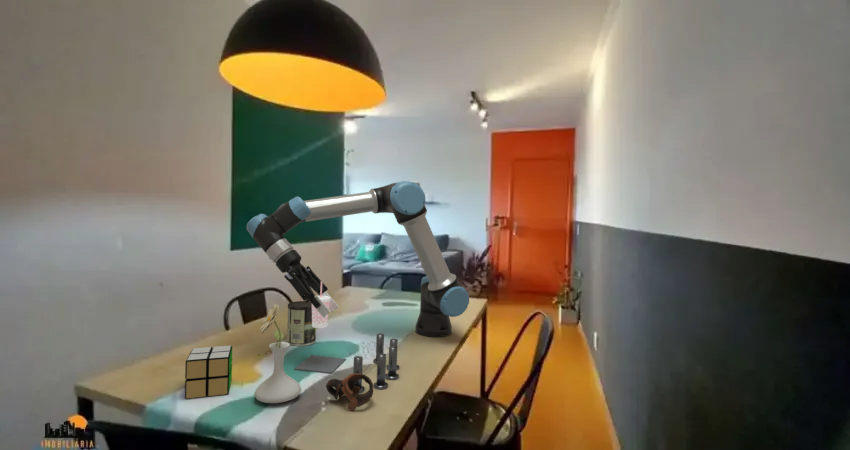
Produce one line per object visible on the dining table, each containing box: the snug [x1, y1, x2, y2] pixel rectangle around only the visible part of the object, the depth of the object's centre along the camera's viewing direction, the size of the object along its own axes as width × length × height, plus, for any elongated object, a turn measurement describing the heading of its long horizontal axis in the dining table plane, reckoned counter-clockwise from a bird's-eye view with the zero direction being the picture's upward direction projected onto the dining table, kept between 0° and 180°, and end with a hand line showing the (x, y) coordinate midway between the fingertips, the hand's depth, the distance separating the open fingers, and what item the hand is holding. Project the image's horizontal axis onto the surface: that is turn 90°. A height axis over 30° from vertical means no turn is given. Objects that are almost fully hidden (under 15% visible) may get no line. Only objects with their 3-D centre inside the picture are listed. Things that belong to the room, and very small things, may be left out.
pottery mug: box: [325, 373, 374, 411], centre depth 105 cm, size 12×10×8 cm
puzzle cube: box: [184, 345, 233, 400], centre depth 110 cm, size 10×10×10 cm
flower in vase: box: [253, 304, 302, 404], centre depth 106 cm, size 13×11×25 cm
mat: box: [294, 354, 347, 375], centre depth 131 cm, size 12×12×1 cm
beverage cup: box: [312, 280, 332, 329], centre depth 130 cm, size 6×6×14 cm
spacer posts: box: [352, 333, 400, 394], centre depth 123 cm, size 26×11×9 cm, turn 170°
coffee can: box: [286, 300, 317, 347], centre depth 152 cm, size 10×10×14 cm
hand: (331, 311), depth 129 cm, fingers closed on beverage cup, 6 cm apart
